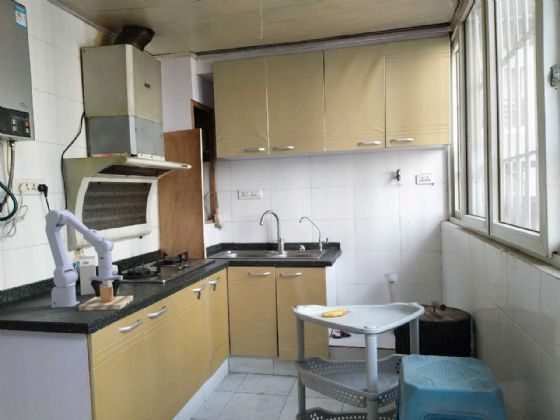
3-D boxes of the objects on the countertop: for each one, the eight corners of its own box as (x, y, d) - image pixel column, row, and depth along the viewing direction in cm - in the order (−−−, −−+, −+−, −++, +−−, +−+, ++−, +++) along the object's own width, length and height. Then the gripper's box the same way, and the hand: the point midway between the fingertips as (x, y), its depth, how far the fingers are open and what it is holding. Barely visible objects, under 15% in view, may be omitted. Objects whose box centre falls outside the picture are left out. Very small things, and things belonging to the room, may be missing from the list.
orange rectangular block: (101, 306, 185) (100, 288, 185) (104, 303, 189) (104, 286, 189) (110, 305, 185) (109, 288, 185) (113, 303, 189) (112, 286, 189)
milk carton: (81, 292, 215) (79, 256, 214) (96, 290, 217) (94, 255, 217) (81, 295, 208) (79, 258, 207) (96, 293, 211) (94, 256, 210)
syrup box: (108, 296, 205) (107, 267, 204) (102, 294, 209) (101, 266, 208) (119, 293, 209) (117, 265, 209) (113, 292, 213) (112, 264, 212)
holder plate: (78, 310, 179) (78, 306, 179) (95, 301, 195) (94, 297, 195) (120, 309, 179) (120, 304, 179) (133, 299, 195) (132, 295, 195)
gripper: (124, 264, 190) (125, 293, 191) (93, 265, 190) (94, 294, 191) (118, 267, 183) (120, 297, 184) (86, 268, 183) (87, 298, 184)
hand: (106, 296), depth 187 cm, fingers open, 7 cm apart
